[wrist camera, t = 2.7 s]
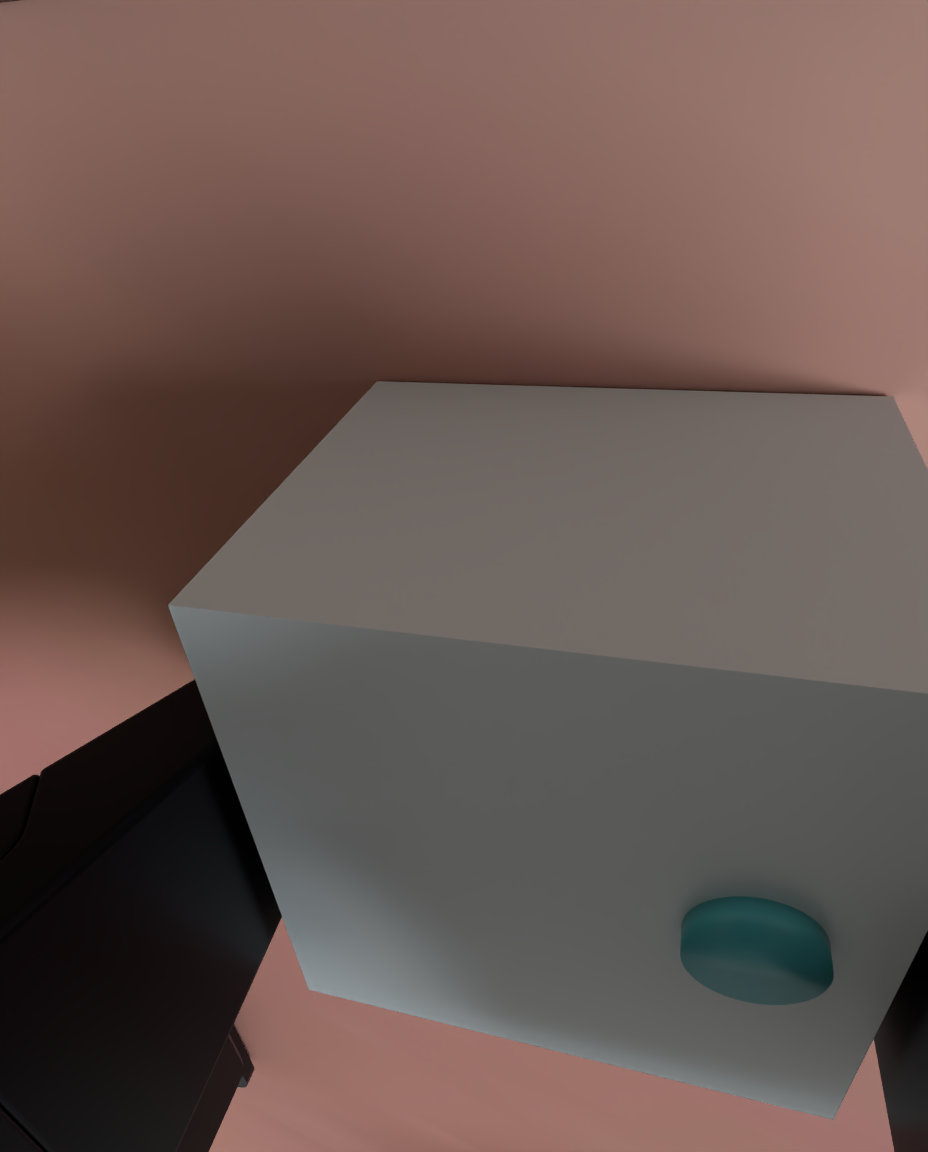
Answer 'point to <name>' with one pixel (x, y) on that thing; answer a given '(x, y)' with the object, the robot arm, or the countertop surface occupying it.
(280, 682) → the white cube
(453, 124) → the countertop surface
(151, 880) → the robot arm
